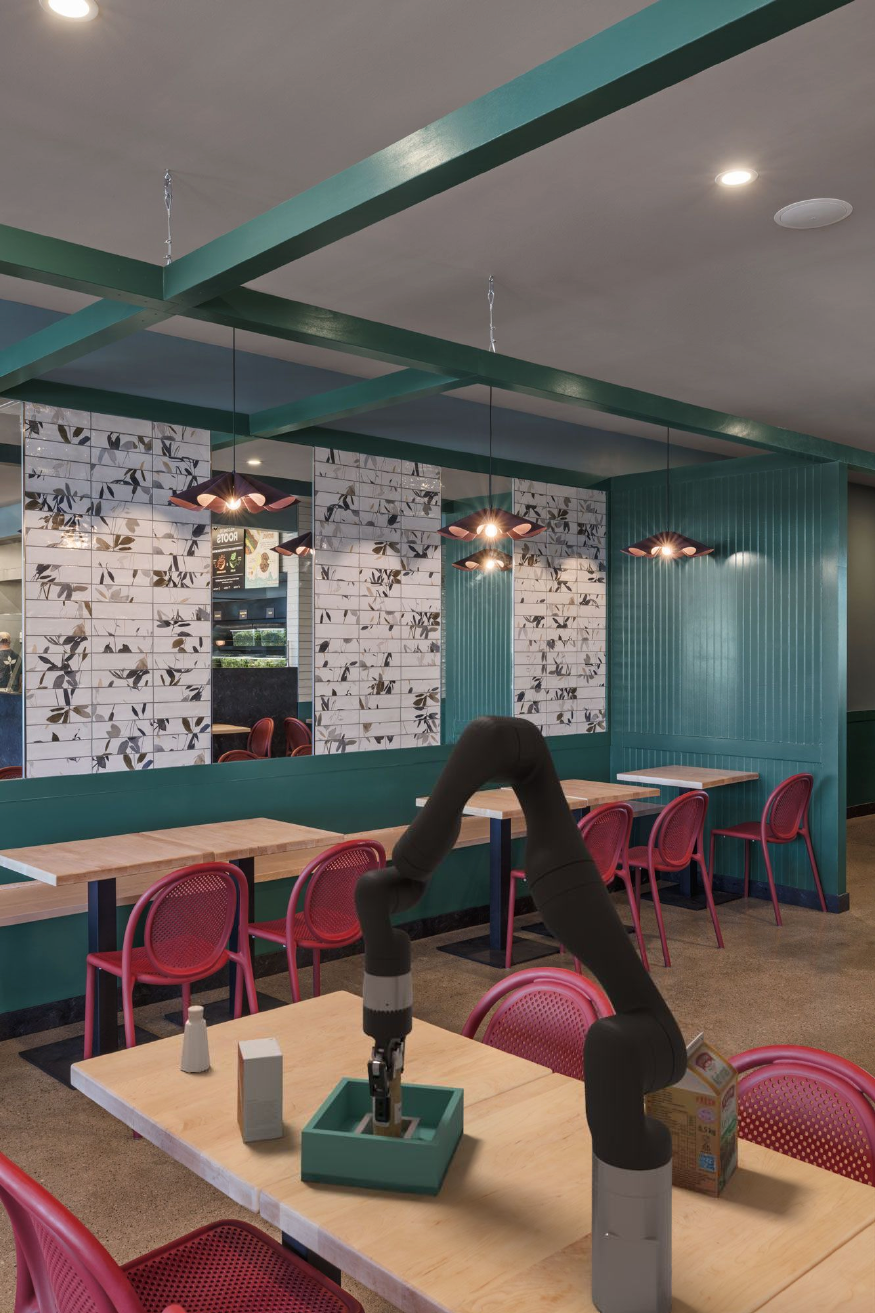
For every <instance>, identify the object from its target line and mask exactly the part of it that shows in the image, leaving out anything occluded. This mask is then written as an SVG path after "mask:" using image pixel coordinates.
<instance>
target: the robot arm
mask: <svg viewBox="0 0 875 1313" xmlns="http://www.w3.org/2000/svg"><path fill="white" fill-rule="evenodd" d="M487 783H490V784H493V783H494V784H508V785H509V786H510V787H511V789H512V791H513V792H514V794H515V797H516V798H517V800H518V803H519V805H520V808H521V811H522V812H523V813H522V814H523V816H524V820H525V826H526V836H525V837H526V838H525V846H524V855H523V856H524V858H523V868H524V869H523V872H524V879H525V881H526V884H527V887H528V890H529V893H530V895H531V898H532V900H533V903H534V905H535V907H536V909H537V912H538V914H539V916H540V919H541V921H542V922H543V924H544V927H545V928H546V929H547V930H548V932H549V933H550V934H551V935H552V936H553V937H554V938H555V940H556V941H558V943H559V944H560V945H562V946H563V948H565V949H566V950H567V951H568V952H569V953H570V954H571V955H572V956H574V957H575V958H576V960H578V961H579V962H580V963H581V964H582V965H584V966H585V968H587V969H588V971H590V972H591V973H592V975H593V976H594V977H595V978H596V980H597V981H598V982H599V984H600V985H601V987H602V989H603V990H604V992H605V993H606V996H607V997H608V1000H609V1002H610V1004H611V1006H612V1008H613V1010H614V1012H615V1014H611V1015H609V1016H608V1015H607V1016H605V1017H601V1018H598V1019H596V1020H595V1021H594V1022H593V1023H592V1024H591V1025H590V1026H589V1028H588V1030H587V1032H586V1035H585V1038H584V1044H583V1050H582V1052H583V1054H582V1058H583V1061H582V1062H583V1065H582V1068H583V1082H584V1083H583V1085H584V1103H585V1106H584V1108H585V1117H586V1122H587V1126H588V1129H589V1132H590V1133H589V1134H590V1136H591V1251H590V1252H591V1254H590V1256H591V1258H590V1259H591V1260H590V1261H591V1278H590V1279H591V1283H590V1286H591V1288H590V1289H591V1293H590V1294H591V1300H592V1303H593V1305H594V1306H595V1307H596V1308H597V1310H598V1311H599V1312H600V1313H670V1312H671V1309H672V1302H673V1301H672V1299H673V1298H672V1295H673V1294H672V1293H673V1290H672V1289H673V1287H672V1285H673V1284H672V1283H673V1282H672V1281H673V1268H672V1267H673V1265H672V1264H673V1260H672V1259H673V1257H672V1254H673V1251H672V1249H673V1248H672V1246H673V1245H672V1244H673V1242H672V1240H673V1219H672V1218H673V1186H672V1136H671V1133H670V1130H669V1129H668V1127H667V1126H666V1125H665V1124H664V1123H662V1122H661V1121H659V1120H657V1119H656V1118H653V1117H651V1116H648V1115H645V1095H647V1094H650V1093H653V1092H656V1091H658V1090H661V1089H664V1088H667V1087H670V1086H672V1085H675V1084H676V1083H678V1082H679V1081H680V1080H681V1079H682V1078H683V1077H684V1075H685V1073H686V1069H687V1061H688V1056H687V1049H686V1046H687V1045H686V1041H685V1038H684V1036H683V1033H682V1031H681V1029H680V1028H681V1027H680V1026H679V1024H678V1023H677V1020H676V1019H675V1016H674V1014H673V1012H672V1011H671V1010H670V1007H669V1006H668V1004H667V1002H666V1001H665V999H664V997H663V995H662V994H661V992H660V990H659V988H658V987H657V985H656V984H655V981H654V980H653V978H652V976H651V975H650V973H649V972H648V970H647V968H646V966H645V965H644V963H643V961H642V959H641V957H640V955H639V953H638V952H637V950H636V947H635V946H634V943H633V941H632V940H631V937H630V935H629V933H628V931H627V929H626V927H625V925H624V923H623V921H622V919H621V917H620V915H619V913H618V911H617V908H616V907H615V904H614V901H613V899H612V898H611V895H610V892H609V890H608V888H607V885H606V883H605V881H604V879H603V877H602V874H601V873H600V872H601V871H600V869H599V868H598V866H597V865H598V864H596V862H595V859H594V858H593V855H592V854H591V852H590V850H589V848H588V846H587V844H586V841H585V839H584V837H583V835H582V833H581V830H580V827H579V826H578V823H577V821H576V819H575V816H574V814H573V811H572V810H571V808H570V804H569V802H568V800H567V798H566V795H565V792H564V789H563V788H562V784H561V781H560V778H559V775H558V773H557V769H556V766H555V764H554V760H553V757H552V754H551V751H550V749H549V746H548V744H547V740H546V739H545V737H544V735H543V734H542V732H541V730H540V728H539V727H538V726H537V725H536V724H535V723H534V722H532V721H530V720H529V719H527V718H523V717H516V716H505V715H496V714H495V715H493V714H489V715H488V714H486V715H480V716H478V717H476V718H473V720H471V722H469V723H468V725H467V726H466V727H465V728H464V730H463V731H462V732H461V735H459V737H458V740H457V741H456V743H455V745H454V748H453V749H452V751H451V753H450V756H449V757H448V759H447V761H446V763H445V764H444V767H443V769H442V771H441V772H440V775H439V777H438V778H437V781H436V782H435V785H434V787H433V789H432V791H431V793H430V794H429V796H428V798H427V800H426V801H425V803H424V805H423V806H422V808H421V810H420V811H419V812H418V814H417V815H416V817H415V818H414V819H413V821H412V822H411V823H410V825H409V826H408V827H407V828H406V830H405V831H404V832H403V833H402V834H401V836H400V838H398V840H397V842H396V843H395V845H394V846H393V848H392V852H391V862H392V864H393V865H392V866H389V867H385V868H384V867H383V868H378V869H373V870H370V871H366V872H364V873H363V874H362V875H361V876H359V878H358V880H357V882H356V884H355V888H354V890H353V902H354V907H355V912H356V916H357V919H358V924H359V926H360V932H361V934H362V938H363V943H364V975H363V976H364V977H363V983H362V1031H363V1033H364V1035H367V1037H371V1039H373V1040H374V1046H372V1048H371V1055H370V1056H371V1060H370V1059H369V1060H368V1061H367V1063H366V1066H367V1076H368V1078H367V1079H368V1080H369V1089H370V1097H375V1120H376V1121H377V1122H384V1123H388V1122H389V1120H390V1118H391V1086H392V1081H393V1080H394V1079H395V1076H396V1060H397V1059H398V1057H399V1052H401V1053H402V1068H401V1075H402V1074H403V1073H404V1071H405V1067H404V1066H405V1053H406V1041H407V1040H406V1039H407V1036H408V1035H409V1034H410V1033H411V1032H412V1030H413V979H412V943H411V937H410V935H409V934H408V932H406V930H403V929H400V928H394V927H393V925H392V922H391V916H393V915H396V914H401V913H405V912H407V911H410V910H412V909H414V908H415V907H416V906H417V905H418V904H419V903H420V902H421V901H422V900H423V898H424V897H425V894H426V891H427V889H428V887H429V884H430V883H431V880H432V877H433V873H434V872H435V871H436V870H437V868H439V866H440V865H441V864H442V862H443V861H444V860H445V859H446V858H447V856H449V854H450V853H451V852H452V850H453V848H454V847H455V845H456V843H457V842H458V839H459V837H460V833H461V830H462V828H461V827H462V821H463V813H464V809H465V807H466V805H467V803H468V802H469V800H470V799H471V798H472V797H473V796H474V795H475V794H476V792H478V791H479V790H480V789H482V787H483V786H485V785H486V784H487ZM391 1058H392V1060H391ZM372 1059H373V1061H372ZM390 1069H391V1073H390V1074H389V1075H387V1074H386V1071H389V1070H390ZM379 1085H381V1086H382V1088H379Z"/></svg>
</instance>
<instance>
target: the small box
mask: <svg viewBox="0 0 875 1313" xmlns="http://www.w3.org/2000/svg"><path fill="white" fill-rule="evenodd" d="M283 1055H284V1054H283V1053H282V1050H281V1046H280V1044H279V1042H278V1040H277V1038H276V1037H270V1038H269V1037H268V1038H257V1039H249V1040H248V1039H247V1040H240V1041H237V1101H236V1102H237V1109H236V1112H237V1113H236V1114H237V1115H236V1116H237V1117H236V1120H237V1124H238V1126H239V1130H240V1134H241V1139H242V1142H243V1143H250V1142H257V1141H264V1140H273V1139H279V1138H283V1130H284V1128H283V1123H284V1122H283V1120H284V1119H283V1113H284V1112H283V1110H284V1109H283V1106H284V1105H283V1103H284V1102H283V1101H284V1100H283V1099H284V1097H283V1096H284V1095H283V1092H284V1091H283V1089H284V1087H283V1084H284V1083H283V1081H284V1080H283V1078H284V1077H283V1076H284V1074H283V1073H284V1071H283V1069H284V1068H283V1067H284V1065H283V1064H284V1063H283V1062H284V1061H283V1059H284V1058H283V1057H284V1056H283Z"/></svg>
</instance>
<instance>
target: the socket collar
mask: <svg viewBox="0 0 875 1313" xmlns="http://www.w3.org/2000/svg"><path fill="white" fill-rule="evenodd" d="M354 1133H358V1134H368V1135H373V1133H374V1132H373V1113H366V1115H365V1117H364V1118H363V1120H362V1121H361V1123H360V1124H359V1126H358V1127H357V1129H356V1130H355V1132H354ZM401 1136H402V1138H406V1139H415V1140H420V1136H421V1118H414V1117H404V1116H402V1120H401Z"/></svg>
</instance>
